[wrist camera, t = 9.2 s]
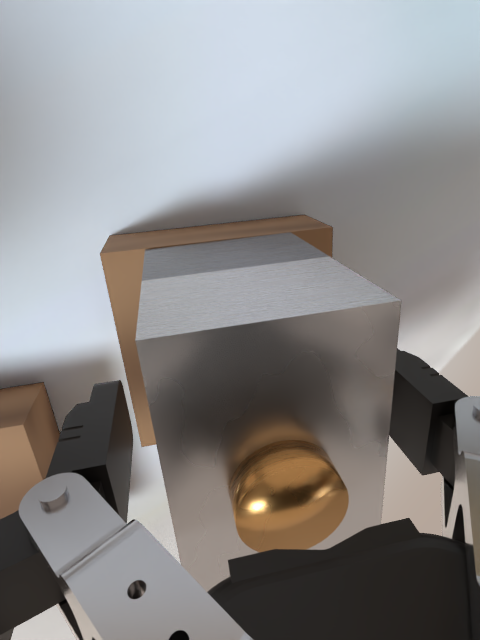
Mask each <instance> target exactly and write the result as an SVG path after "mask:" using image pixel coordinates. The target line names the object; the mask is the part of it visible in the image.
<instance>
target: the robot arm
mask: <svg viewBox="0 0 480 640" xmlns="http://www.w3.org/2000/svg"><path fill="white" fill-rule="evenodd" d="M389 435H390V437H391V438H392V439H393V440H394V442H395V443H396V444H397V445H398V446H399V447H400V449H401V450H402V451H403V452H404V454H405V455H406V456H407V457H408V459H409V460H410V461H411V462H412V463H413V465H414V466H415V467H416V468H417V470H418V471H419V472H420V473H421V474H422V475H427V474H431V473H436V472H440V473H441V474H442V476H443V477H442V483H441V507H442V536H439V535H434V534H427V533H419V532H418V530H417V529H416V527H415V526H414V524H413V523H412V521H411V520H410V518H406V519H402V520H398V521H394V522H389V523H385V524H380V525H376V526H372V527H368V528H365V529H363V530H362V531H360V532H358V533H356V534H354V535H353V536H351V537H349V538H347V539H345V540H344V541H342V542H340V543H338V544H336V545H334V546H333V547H331V548H329V549H325V550H304V549H273V550H268V551H264V552H260V553H255V554H251V555H247V556H242V557H238V558H234V559H230V560H228V566H229V574H230V577H228V578H226V579H225V580H223V581H221V582H220V583H218V584H217V585H215V586H214V587H212V588H211V589H210V590H209V591H208V592H206V591H205V590H204V588H203V587H202V586H201V585H200V584H199V583H198V582H197V581H196V580H195V579H194V578H193V577H192V576H191V575H190V574H189V573H188V572H187V571H186V570H185V569H184V568H183V567H182V566H181V564H180V563H179V562H178V561H177V560H176V559H175V558H174V557H173V556H172V555H171V554H170V553H169V552H168V551H167V550H166V549H165V548H164V547H163V546H162V545H161V544H160V543H159V541H158V540H157V539H156V538H155V537H154V536H153V535H152V534H151V533H150V532H149V531H148V530H147V529H146V528H145V527H144V526H143V525H142V524H141V523H140V522H139V521H137V520H132V521H130V522H129V523H128V524H127V513H128V500H129V487H130V474H131V461H132V448H133V434H132V426H131V421H130V416H129V412H128V407H127V403H126V398H125V394H124V389H123V385H122V382H121V381H120V380H119V381H112V382H106V383H100V384H95V385H94V387H93V390H92V394H91V398H90V402H87V403H81V404H77V405H76V406H75V407H74V408H73V409H72V410H71V412H70V413H69V414H68V415H67V416H66V418H65V421H64V424H63V427H62V431H61V433H60V436H59V439H58V440H59V442H57V445H56V448H55V451H54V454H53V457H52V460H51V463H50V466H49V469H48V472H47V475H46V478H45V479H44V480H42V481H41V482H39V483H37V484H36V485H35V486H34V487H32V488H31V489H30V490H29V491H28V492H27V493H26V495H25V496H24V497H23V499H22V501H21V503H20V505H19V510H18V511H16V512H14V513H12V514H10V515H8V516H6V517H4V518H2V519H0V640H11V636H12V633H13V629H14V627H16V626H18V625H20V624H21V623H23V622H25V621H27V620H29V619H31V618H32V617H34V616H36V615H38V614H40V613H42V612H43V611H45V610H47V609H49V608H51V607H52V606H54V605H57V607H58V609H59V610H60V612H61V614H62V615H63V617H64V619H65V621H66V622H67V624H68V626H69V628H70V629H71V631H72V633H73V634H74V636H75V638H76V640H480V397H477V396H476V397H475V396H471V397H468V396H467V395H466V394H465V393H463V392H462V391H461V390H460V389H458V388H457V387H456V386H454V385H453V384H452V383H451V382H449V381H448V380H447V379H446V378H444V377H443V376H442V375H439V373H438V372H437V371H436V370H434V369H433V368H430V366H429V365H428V364H427V363H425V362H424V361H423V360H422V359H420V358H419V357H417V356H415V355H412V354H410V353H407V352H405V351H400V350H399V349H398V348H397V353H396V364H395V375H394V386H393V397H392V408H391V419H390V430H389Z"/></svg>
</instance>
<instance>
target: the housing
mask: <svg viewBox="0 0 480 640" xmlns="http://www.w3.org/2000/svg"><path fill="white" fill-rule="evenodd" d="M400 309H401V300H400V299H398V298H396V297H395V296H393V295H392V294H390V293H388V292H387V291H385V290H383V289H382V288H380V287H379V286H377V285H375V284H374V283H372V282H370V281H369V280H367V279H366V278H364V277H362V276H361V275H359V274H357V273H356V272H354V271H353V270H351V269H349V268H348V267H346V266H344V265H343V264H341V263H340V262H338V261H336V260H335V259H333V258H331V257H330V256H328V255H327V254H325V253H323V252H322V251H320V250H318V249H317V248H315V247H314V246H312V245H310V244H309V243H307V242H305V241H304V240H302V239H301V238H299V237H297V236H296V235H294V234H292V233H291V232H288V233H279V234H271V235H263V236H254V237H246V238H238V239H229V240H221V241H213V242H204V243H196V244H188V245H179V246H171V247H162V248H154V249H146V250H145V254H144V264H143V273H142V283H141V292H140V301H139V311H138V320H137V330H136V339H135V341H136V346H137V351H138V356H139V361H140V366H141V371H142V376H143V381H144V385H145V390H146V395H147V400H148V405H149V410H150V415H151V420H152V425H153V429H154V434H155V439H156V444H157V449H158V454H159V459H160V464H161V469H162V473H163V478H164V483H165V488H166V493H167V498H168V503H169V508H170V513H171V517H172V522H173V527H174V532H175V537H176V542H177V547H178V552H179V557H180V561H181V566H182V567H183V568H184V569H185V570H186V571H187V572H188V573H189V574H190V575H191V576H192V577H193V578H194V579H195V580H196V581H197V582H198V583H199V584H200V585H201V586H202V587H203V588H204V590H205V591H206V592H208V591H209V590H210V589H211V588H212V587H214V586H215V585H217V584H218V583H220V582H221V581H223V580H225V579H226V578H228V577H230V574H229V566H228V560H230V559H234V558H238V557H242V556H247V555H251V554H255V553H260V552H264V551H268V550H273V549H304V550H325V549H329V548H331V547H333V546H334V545H336V544H338V543H340V542H342V541H344V540H345V539H347V538H349V537H351V536H353V535H354V534H356V533H358V532H360V531H362V530H363V529H365V528H368V527H372V526H376V525H380V524H381V518H382V507H383V496H384V485H385V473H386V462H387V452H388V441H389V440H388V439H389V430H390V419H391V408H392V397H393V386H394V375H395V364H396V353H397V342H398V331H399V320H400Z"/></svg>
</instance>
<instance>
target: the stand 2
mask: <svg viewBox="0 0 480 640" xmlns="http://www.w3.org/2000/svg"><path fill="white" fill-rule="evenodd" d="M288 232H291V233H292V234H294V235H296V236H297V237H299V238H301V239H302V240H304V241H305V242H307V243H309V244H310V245H312V246H314V247H315V248H317V249H318V250H320V251H322V252H323V253H325V254H327V255H328V256H330V257H331V258H332V237H333V227H331V226H329V225H327V224H324V223H322V222H320V221H318V220H315V219H313V218H311V217H308V216H306V215H297V216H288V217H278V218H269V219H260V220H251V221H241V222H232V223H223V224H213V225H204V226H195V227H186V228H176V229H167V230H158V231H148V232H139V233H130V234H120V235H111V236H109V238H108V240H107V241H106V243H105V245H104V247H103V249H102V251H101V253H100V256H101V261H102V265H103V270H104V274H105V279H106V284H107V288H108V293H109V298H110V302H111V307H112V311H113V316H114V321H115V325H116V330H117V335H118V339H119V344H120V348H121V353H122V358H123V362H124V367H125V372H126V376H127V381H128V385H129V390H130V395H131V399H132V404H133V409H134V413H135V418H136V422H137V427H138V432H139V436H140V441H141V446H142V447H144V446H149V445H155V444H156V439H155V434H154V429H153V425H152V420H151V415H150V410H149V405H148V400H147V395H146V390H145V385H144V381H143V376H142V371H141V366H140V361H139V356H138V351H137V346H136V341H135V339H136V330H137V320H138V311H139V301H140V292H141V283H142V273H143V264H144V254H145V250H146V249H154V248H162V247H171V246H179V245H188V244H196V243H204V242H213V241H221V240H229V239H238V238H246V237H254V236H263V235H271V234H279V233H288Z"/></svg>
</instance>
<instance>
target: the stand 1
mask: <svg viewBox="0 0 480 640" xmlns="http://www.w3.org/2000/svg"><path fill="white" fill-rule="evenodd" d="M59 436H60V433H59V430H58V427H57V423H56V420H55V417H54V414H53V411H52V408H51V404H50V401H49V398H48V395H47V392H46V389H45V385H44V382H42V383H36V384H29V385H23V386H17V387H10V388H4V389H0V519H2V518H4V517H6V516H8V515H10V514H12V513H14V512H16V511H18V510H19V505H20V503H21V501H22V499H23V497H24V496H25V495H26V493H27V492H28V491H29V490H30V489H31V488H32V487H34V486H35V485H36V484H37V483H39V482H41V481H42V480H44V479H45V478H46V475H47V472H48V469H49V466H50V463H51V460H52V457H53V454H54V451H55V448H56V445H57V442H59V440H58V439H59Z"/></svg>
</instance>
